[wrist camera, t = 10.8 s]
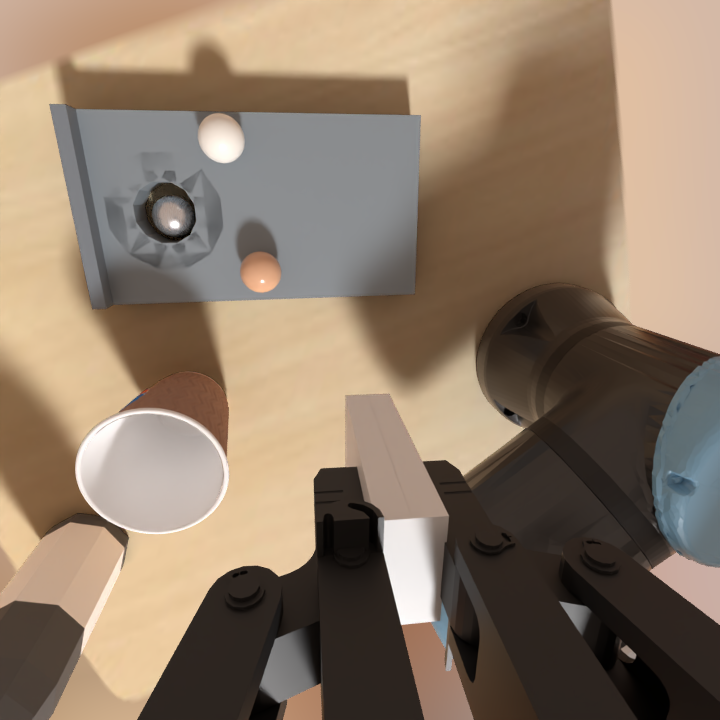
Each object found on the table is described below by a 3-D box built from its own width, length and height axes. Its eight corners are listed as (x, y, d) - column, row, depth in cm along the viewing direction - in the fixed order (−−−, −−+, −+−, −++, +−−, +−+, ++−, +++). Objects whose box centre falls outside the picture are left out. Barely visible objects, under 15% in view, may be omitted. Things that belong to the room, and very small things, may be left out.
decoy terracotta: (280, 249, 36) (279, 252, 33) (283, 288, 37) (282, 295, 34) (240, 249, 36) (235, 253, 33) (244, 289, 37) (239, 296, 34)
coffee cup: (138, 344, 40) (78, 397, 29) (253, 364, 42) (239, 421, 31) (128, 443, 43) (70, 527, 32) (236, 458, 45) (217, 541, 34)
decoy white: (244, 118, 33) (239, 109, 30) (248, 165, 34) (244, 161, 31) (200, 117, 32) (190, 108, 29) (205, 165, 34) (196, 160, 31)
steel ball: (180, 198, 33) (140, 195, 34) (185, 241, 35) (147, 239, 35) (199, 194, 36) (162, 192, 37) (203, 234, 38) (168, 232, 38)
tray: (411, 122, 37) (426, 111, 33) (406, 288, 42) (419, 297, 38) (79, 116, 34) (49, 104, 30) (114, 298, 39) (92, 309, 34)
